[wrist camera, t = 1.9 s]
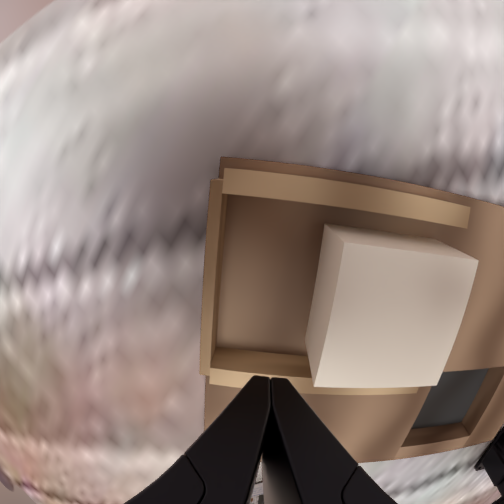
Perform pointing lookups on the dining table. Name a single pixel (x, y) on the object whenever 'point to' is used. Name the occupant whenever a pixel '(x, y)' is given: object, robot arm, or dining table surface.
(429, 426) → the deck
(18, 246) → the dining table surface
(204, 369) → the cubby
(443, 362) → the cream block
